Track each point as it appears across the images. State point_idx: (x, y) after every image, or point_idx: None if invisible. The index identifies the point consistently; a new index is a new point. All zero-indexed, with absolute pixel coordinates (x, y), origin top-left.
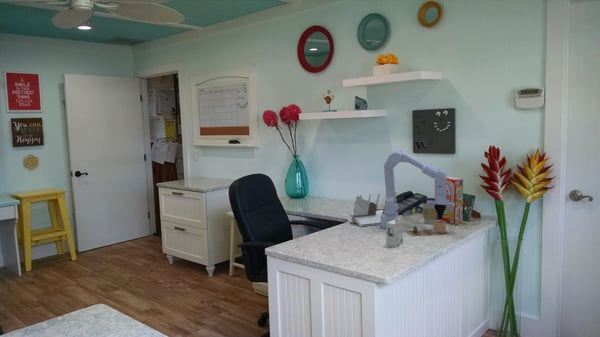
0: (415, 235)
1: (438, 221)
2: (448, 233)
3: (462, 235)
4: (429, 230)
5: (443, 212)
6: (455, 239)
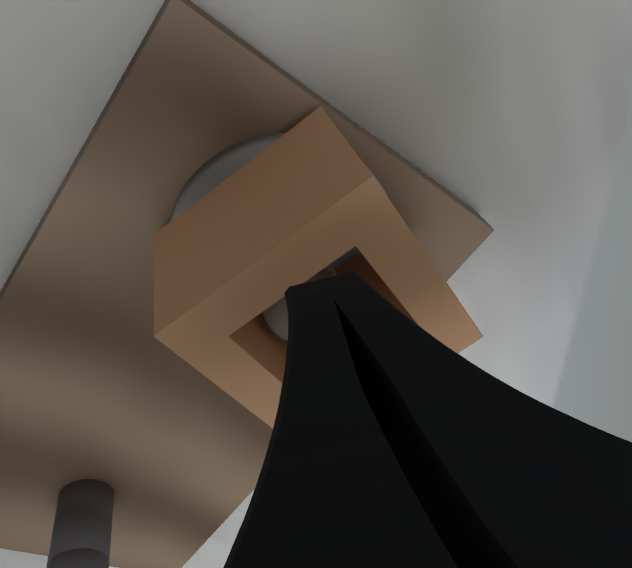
0: (176, 544)
1: (267, 287)
2: (448, 208)
3: (615, 6)
4: (101, 260)
5: (472, 382)
6: (562, 281)
